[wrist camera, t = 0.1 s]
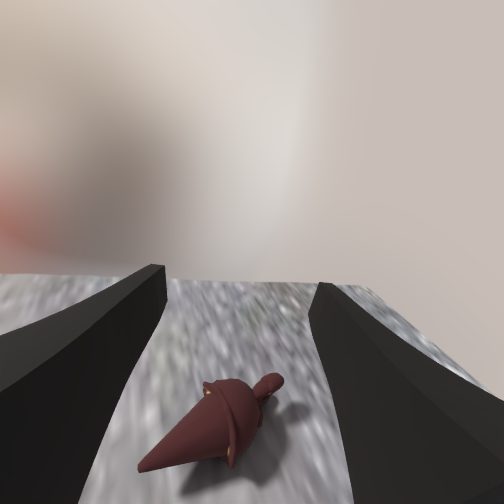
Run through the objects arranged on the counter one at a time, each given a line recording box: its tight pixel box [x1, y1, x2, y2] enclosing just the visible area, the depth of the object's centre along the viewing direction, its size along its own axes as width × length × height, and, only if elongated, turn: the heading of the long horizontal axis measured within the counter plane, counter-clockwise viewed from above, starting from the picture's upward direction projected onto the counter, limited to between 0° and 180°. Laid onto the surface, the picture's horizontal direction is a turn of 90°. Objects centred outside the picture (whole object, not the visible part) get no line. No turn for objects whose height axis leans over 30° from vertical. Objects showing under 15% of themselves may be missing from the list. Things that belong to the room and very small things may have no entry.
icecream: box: [138, 373, 284, 473], centre depth 20 cm, size 7×7×15 cm
